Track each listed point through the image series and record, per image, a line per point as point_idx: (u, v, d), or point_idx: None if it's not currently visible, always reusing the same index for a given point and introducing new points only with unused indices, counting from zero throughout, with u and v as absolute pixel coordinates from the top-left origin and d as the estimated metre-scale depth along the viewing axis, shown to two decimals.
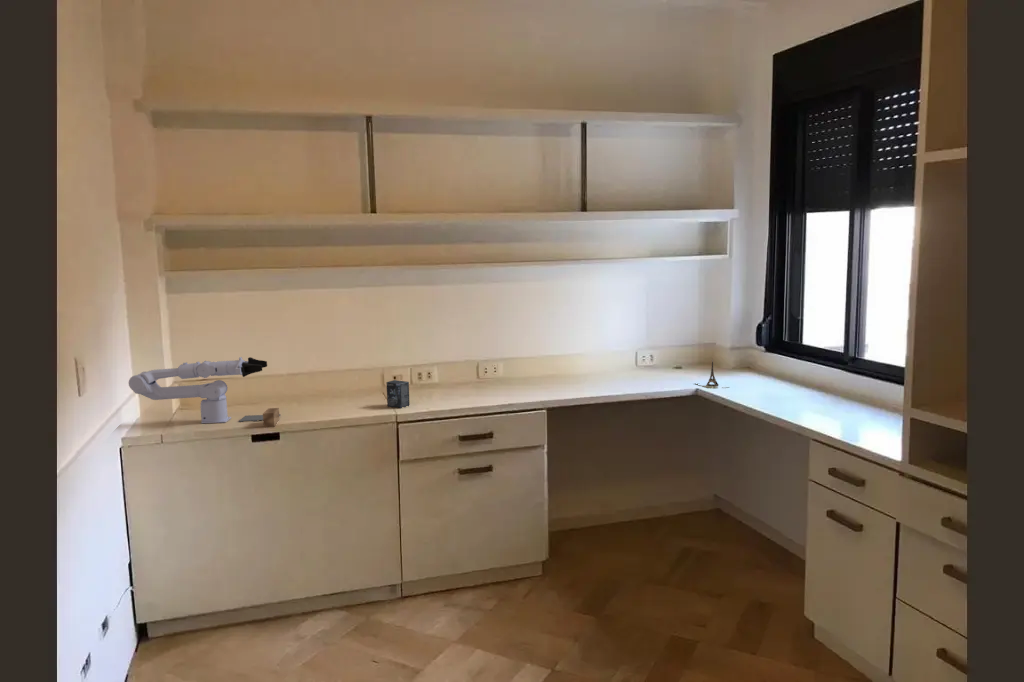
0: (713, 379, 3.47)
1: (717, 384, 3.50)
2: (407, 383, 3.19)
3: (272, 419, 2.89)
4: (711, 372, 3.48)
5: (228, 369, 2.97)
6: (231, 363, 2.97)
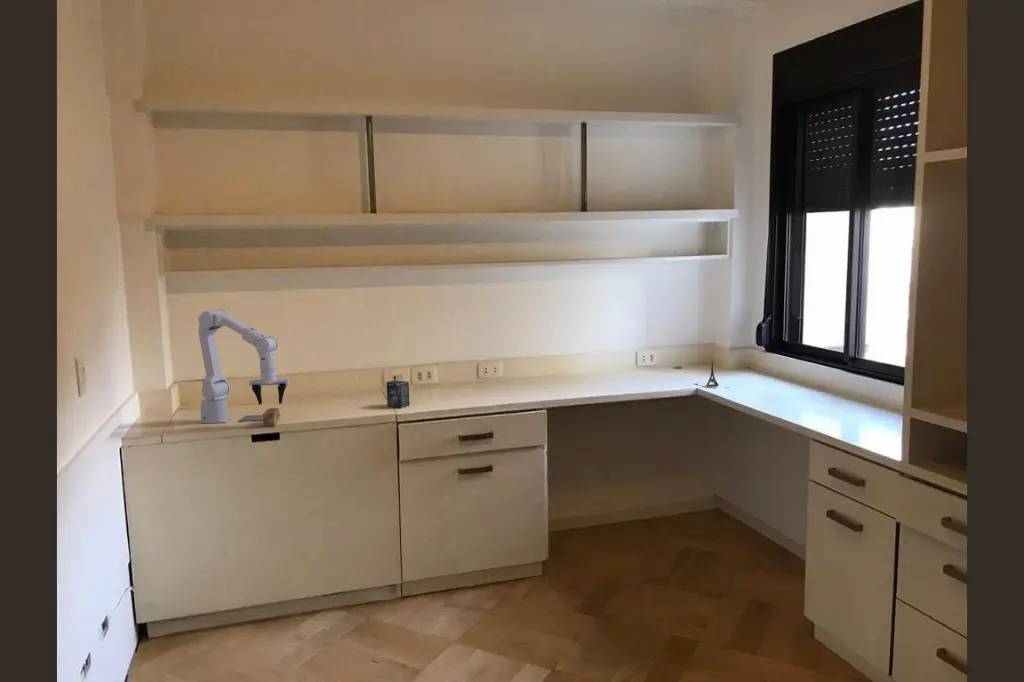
0: (713, 379, 3.47)
1: (717, 384, 3.50)
2: (407, 383, 3.19)
3: (272, 419, 2.89)
4: (711, 372, 3.48)
5: None
6: (262, 373, 2.89)
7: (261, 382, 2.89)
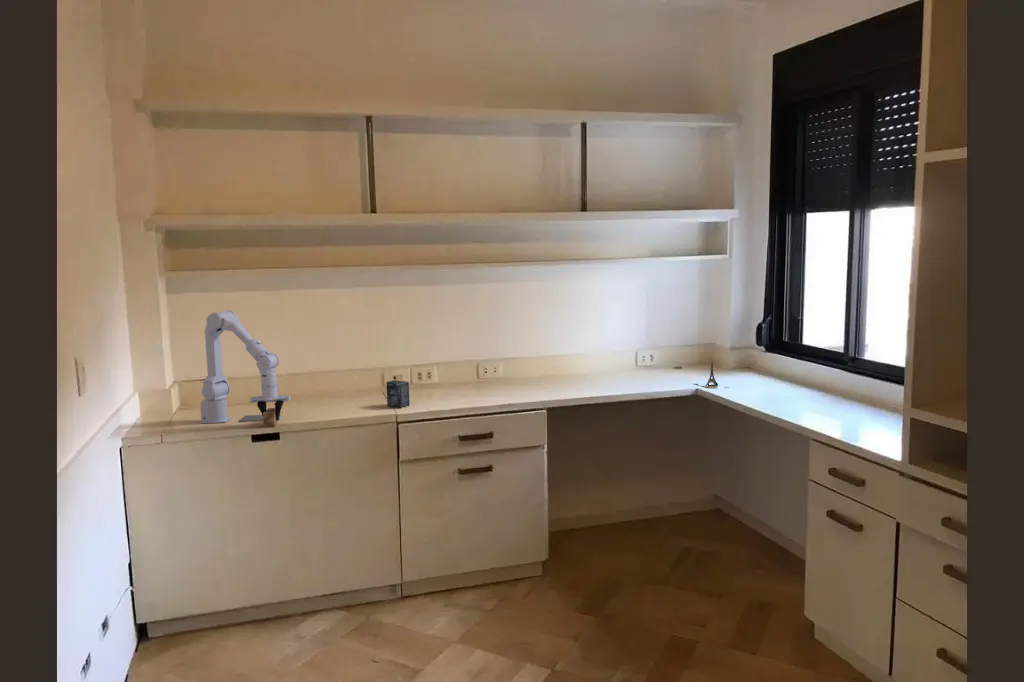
0: (713, 379, 3.47)
1: (717, 384, 3.49)
2: (407, 383, 3.19)
3: (272, 419, 2.89)
4: (711, 372, 3.48)
5: None
6: (263, 390, 2.90)
7: (262, 399, 2.90)
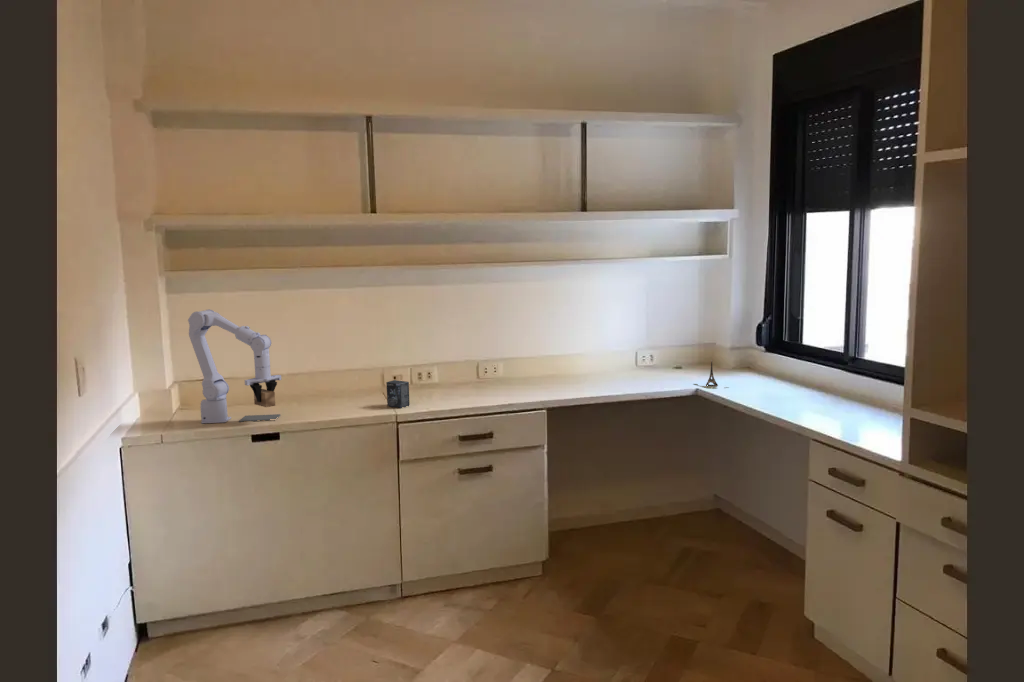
0: (712, 379, 3.47)
1: (716, 384, 3.49)
2: (407, 383, 3.19)
3: (273, 398, 2.95)
4: (710, 372, 3.48)
5: (255, 368, 2.94)
6: (261, 371, 2.93)
7: (260, 380, 2.93)
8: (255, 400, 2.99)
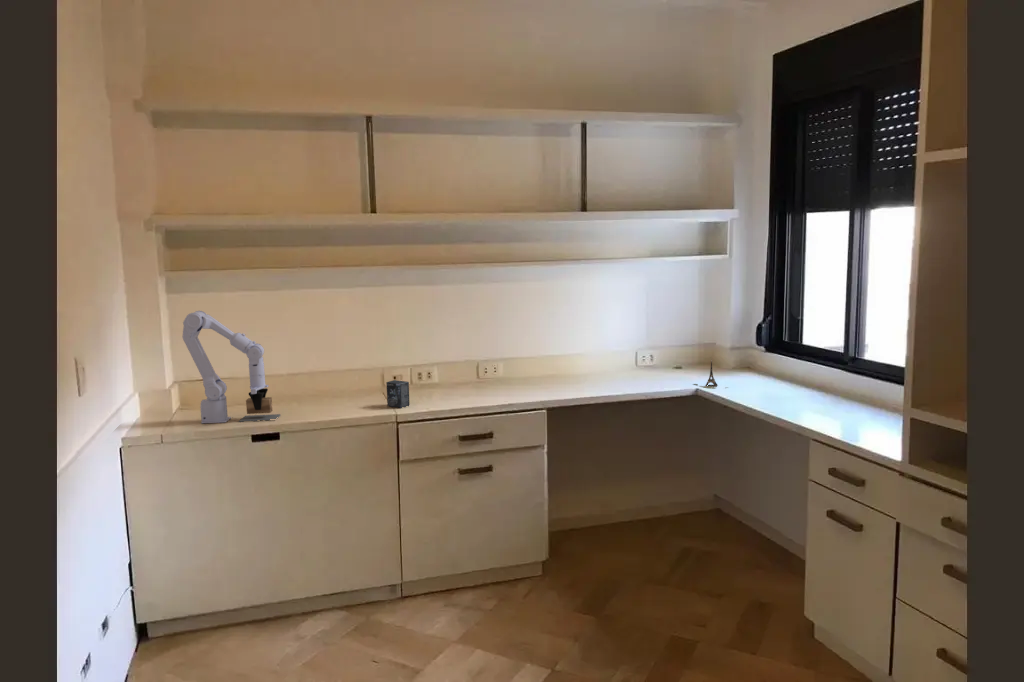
0: (712, 379, 3.47)
1: (716, 384, 3.49)
2: (407, 383, 3.19)
3: (271, 403, 3.05)
4: (710, 372, 3.47)
5: (255, 377, 2.99)
6: (261, 378, 3.00)
7: (262, 387, 3.00)
8: (249, 409, 3.01)
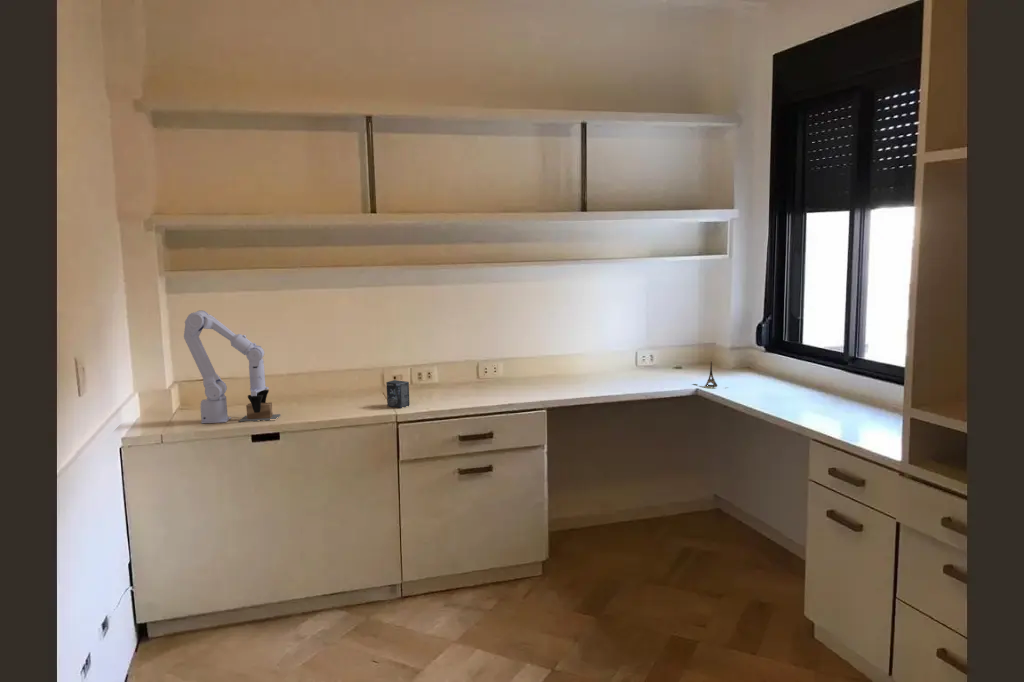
0: (712, 379, 3.47)
1: (716, 384, 3.49)
2: (407, 383, 3.19)
3: (271, 408, 3.05)
4: (710, 372, 3.47)
5: (255, 379, 2.99)
6: (262, 380, 3.00)
7: (262, 389, 3.00)
8: (249, 414, 3.01)
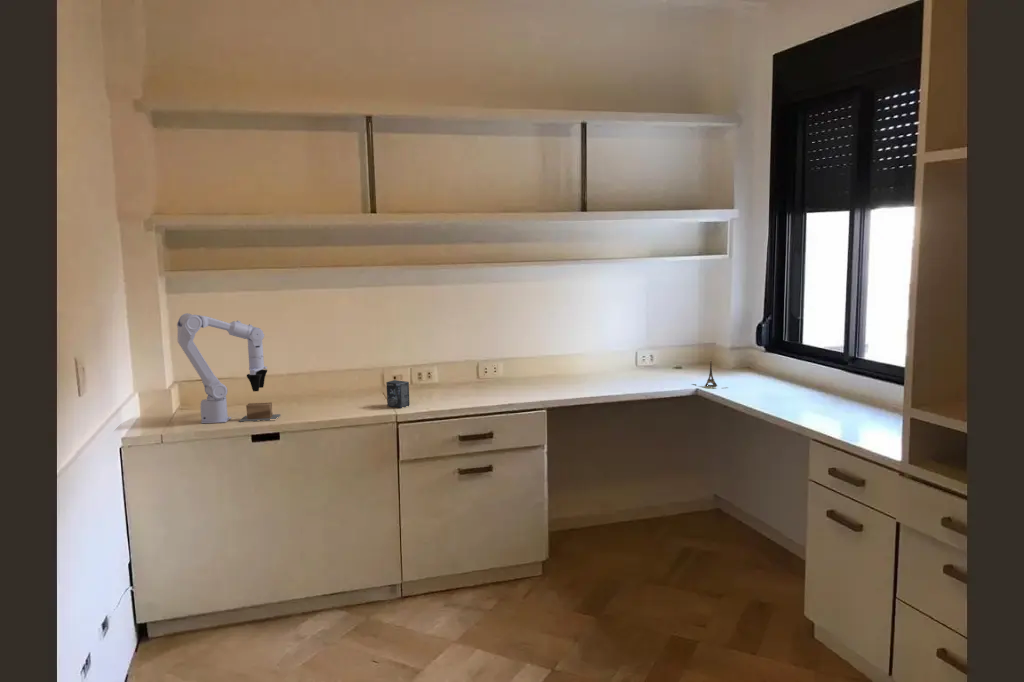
0: (712, 379, 3.47)
1: (716, 384, 3.49)
2: (407, 383, 3.19)
3: (271, 408, 3.05)
4: (710, 372, 3.47)
5: (254, 358, 3.06)
6: (260, 360, 3.07)
7: (261, 368, 3.07)
8: (249, 414, 3.01)
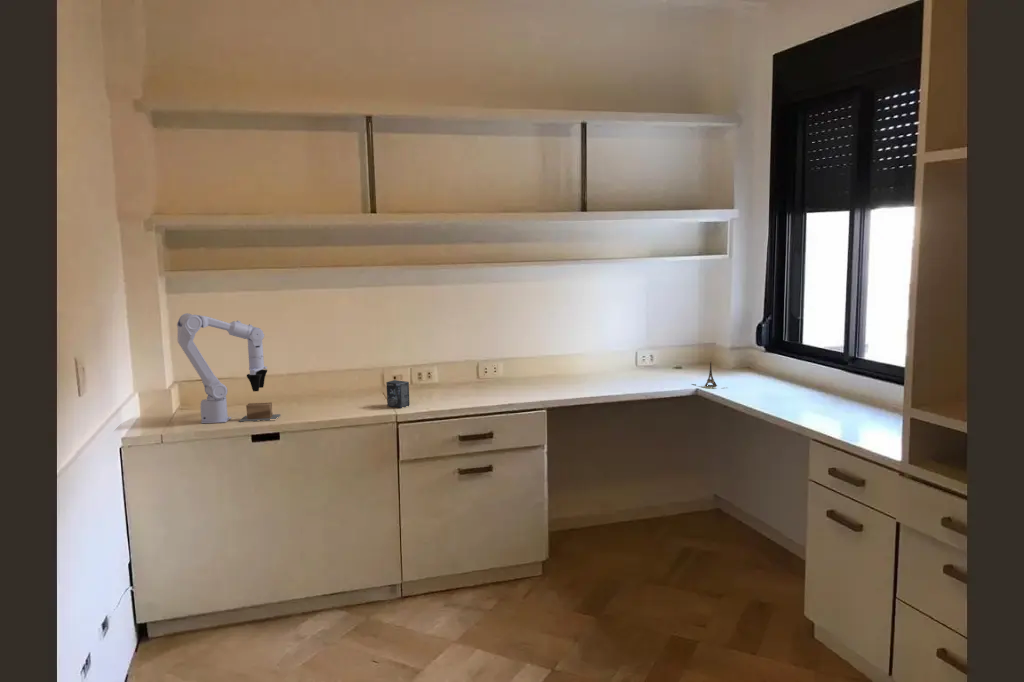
0: (711, 379, 3.46)
1: (715, 384, 3.49)
2: (407, 383, 3.19)
3: (271, 408, 3.05)
4: (709, 373, 3.47)
5: (254, 358, 3.06)
6: (260, 360, 3.07)
7: (261, 368, 3.07)
8: (249, 414, 3.01)
